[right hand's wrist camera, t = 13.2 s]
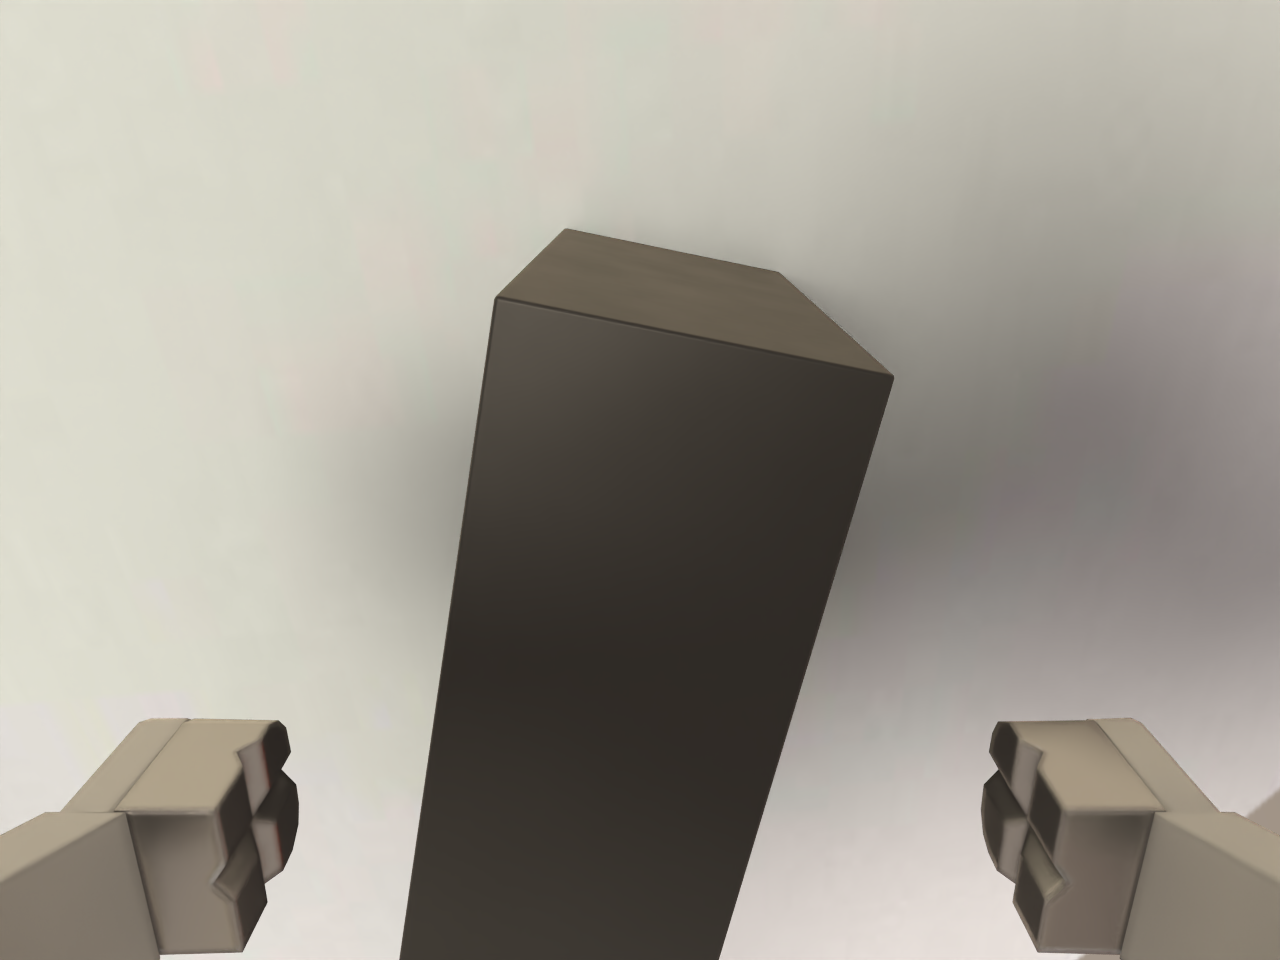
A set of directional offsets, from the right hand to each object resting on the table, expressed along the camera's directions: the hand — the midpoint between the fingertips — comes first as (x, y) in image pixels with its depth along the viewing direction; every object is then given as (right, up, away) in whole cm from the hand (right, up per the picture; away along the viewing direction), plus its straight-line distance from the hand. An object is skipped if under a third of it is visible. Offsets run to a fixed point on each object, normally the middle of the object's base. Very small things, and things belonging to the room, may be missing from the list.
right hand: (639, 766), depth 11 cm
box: (-1, 0, +17) cm, 17 cm away
